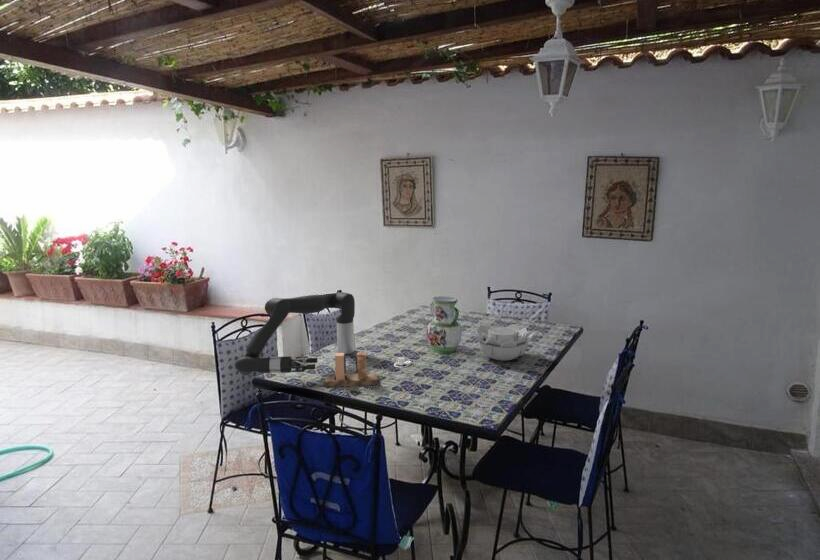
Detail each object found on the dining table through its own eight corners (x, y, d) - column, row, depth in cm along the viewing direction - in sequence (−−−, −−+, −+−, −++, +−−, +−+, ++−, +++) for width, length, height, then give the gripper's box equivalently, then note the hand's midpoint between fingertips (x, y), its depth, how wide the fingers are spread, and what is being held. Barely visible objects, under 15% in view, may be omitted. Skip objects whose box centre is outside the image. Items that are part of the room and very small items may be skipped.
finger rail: (325, 386, 238) (323, 357, 236) (326, 380, 246) (325, 352, 244) (377, 384, 240) (376, 355, 237) (377, 378, 247) (376, 350, 245)
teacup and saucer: (412, 363, 268) (412, 356, 268) (408, 369, 261) (408, 361, 260) (396, 362, 271) (396, 354, 270) (391, 367, 263) (391, 359, 262)
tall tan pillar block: (336, 384, 240) (334, 355, 238) (336, 381, 244) (335, 353, 242) (346, 384, 241) (344, 355, 238) (346, 381, 245) (345, 352, 242)
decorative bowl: (540, 354, 278) (541, 327, 275) (519, 371, 254) (520, 341, 251) (488, 345, 295) (489, 319, 292) (464, 360, 270) (464, 332, 268)
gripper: (277, 362, 232) (314, 360, 233) (283, 352, 246) (317, 350, 246) (278, 378, 233) (314, 376, 234) (284, 367, 247) (318, 365, 248)
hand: (316, 363), depth 240 cm, fingers open, 8 cm apart
